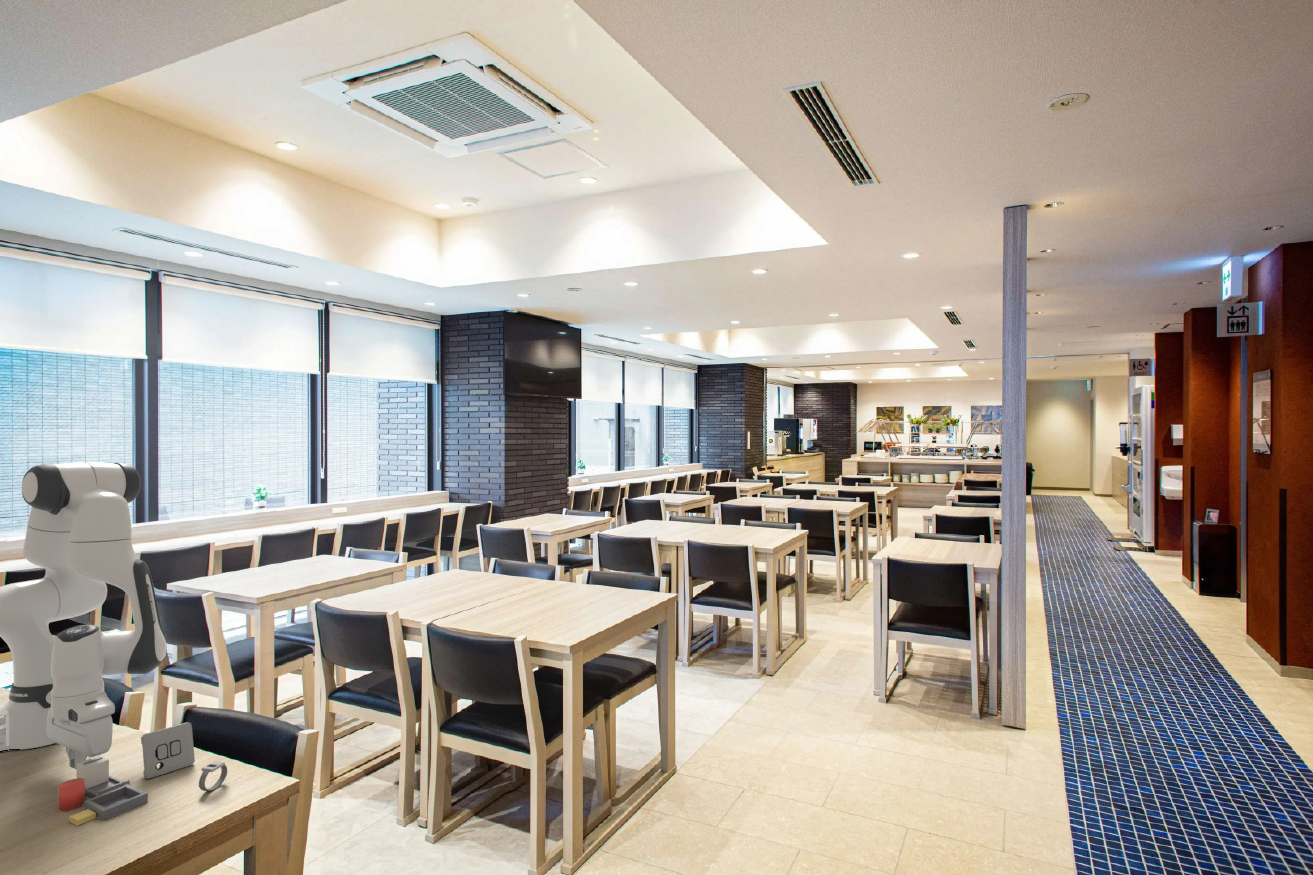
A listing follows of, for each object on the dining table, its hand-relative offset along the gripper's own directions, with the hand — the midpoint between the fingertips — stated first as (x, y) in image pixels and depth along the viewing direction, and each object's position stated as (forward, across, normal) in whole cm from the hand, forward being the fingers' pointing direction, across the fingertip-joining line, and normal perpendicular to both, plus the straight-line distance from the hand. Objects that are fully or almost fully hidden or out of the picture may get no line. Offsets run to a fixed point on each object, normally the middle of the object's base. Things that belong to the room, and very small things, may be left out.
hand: (77, 767), depth 147 cm
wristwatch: (+2, +31, +11) cm, 33 cm away
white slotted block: (+2, +7, 0) cm, 7 cm away
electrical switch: (+2, +13, +11) cm, 17 cm away
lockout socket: (+2, +21, -4) cm, 21 cm away
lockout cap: (+2, +13, -6) cm, 14 cm away
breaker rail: (+2, +9, 0) cm, 10 cm away
